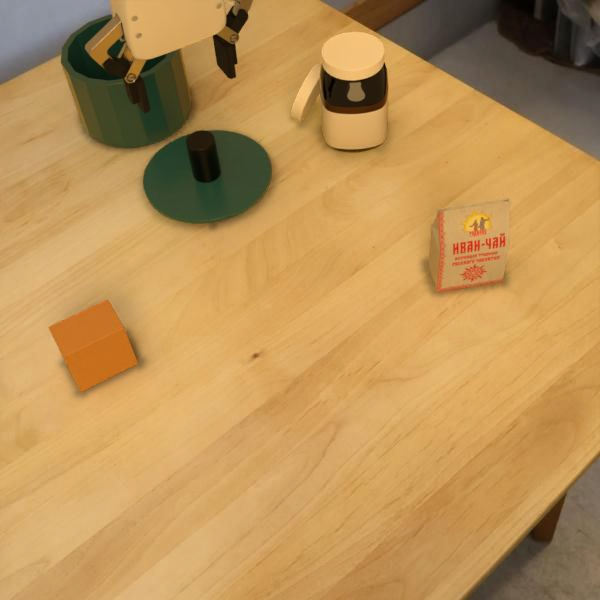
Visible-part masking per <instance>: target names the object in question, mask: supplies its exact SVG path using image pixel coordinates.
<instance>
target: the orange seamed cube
mask: <svg viewBox="0 0 600 600" xmlns="http://www.w3.org/2000/svg"><path fill="white" fill-rule="evenodd" d="M48 330H49V332H50V334H51V335H52V336H51V337H52V338H53V340H54V342H55V344H56V346H57V348H58V350H59V352H60V355H61V356H62V358H63V360H64V362H65V364H66V366H67V368H68V370H69V372H70V373H71V376H72V378H73V379H74V381H75V383H76V386H77V388H78V390H79V391H80V392H85V391H86V390H88V389H90V388H92V387H94V386H96V385H98V384H101V383H102V382H104V381H106V380H108V379H110V378H112V377H114V376H116V375H119V374H121V373H122V372H124V371H126V370H129V369H131V368H132V367H134V366H136V365H138V364H139V362H138V359H137V357H136V354H135V351H134V349H133V347H132V344H131V342H130V339H129V336H128V334H127V331H126V328H125V326H124V325H123V323H122V321H121V320H120V317H119V315H118V314H117V312H116V310H115V308H114V306H113V305H112V303H111V301H110V300H109V299H108V298H107V299H105V300H103V301H101V302H98V303H96V304H93V306H90V307H88V308H86V309H84V310H82V311H80V312H78V313H75V314H73V315H71V316H68V317H67V318H65V319H63V320H60V321H58V322H56V323H54V324H51V325H49V326H48Z"/></svg>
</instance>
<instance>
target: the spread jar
mask: <svg viewBox="0 0 600 600" xmlns="http://www.w3.org/2000/svg"><path fill="white" fill-rule="evenodd" d="M320 53H321V63H320V64H319V63H316V64H315V65H313V67H312V68H311V69H310V71H309V72H308V73H307V76H306V77H305V79H304V80H303V82H302V84H301V86H300V88H299V90H298V92H297V95H296V96H295V99H294V101H293V104H292V107H291V109H290V117H292V118H294V119H295V120H297V121H299V122H303V121H304V120H305V119H306V118H307V116H308V115H309V113H310V112H311V110H312V109H313V107H314V105H315V103H316V101H317V100H318V97H319V99H320V100H319V101H320V120H321V129H322V136H323V140H324V142H325V144H326V145H327V146H328V148H330V149H332V150H334V151H337V152H342V153H350V154H352V153H353V154H354V153H356V154H357V153H364V152H368V151H369V152H370V151H372V150H374V149H377V148H379V147H380V146H382V145H383V144H384V142H385V141H386V138H387V134H388V133H387V132H388V123H389V122H388V121H389V120H388V118H389V117H388V113H389V110H388V109H389V76H388V67H387V65H386V62H385V46H384V44H383V42H382V41H381V39H379V38H378V37H376V36H375V35H372V34H370V33H367V32H362V31H348V32H347V31H346V32H343V33H339V34H336V35H334V36H332V37H330V38H329V39H328V40H326V41H325V43H324V44H323V45H322V47H321V52H320Z"/></svg>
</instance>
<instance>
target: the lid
mask: <svg viewBox="0 0 600 600" xmlns="http://www.w3.org/2000/svg"><path fill="white" fill-rule="evenodd" d="M272 169H273V168H272V162H271V158H270V156H269V154H268V152H267V151H266V150H265V148H264V147H263V146H262V145H261V144H260V143H259V142H257V140H254V139H253V138H251V137H249V136H247V135H245V134H242V133H239V132H236V131H231V130H223V129H209V130H203V129H201V130H196V131H195V130H194V131H192V132H191V133H188V134H185V135H182V136H180V137H178V138H176V139H173V140H171V141H170V142H168V143H166V144H165V145H164V146H163V147H161V148H160V149H159V150H158V151H157V152H155V154H154V155H153V156H152V157H151V158H150V160H149V161H148V163H147V164H146V167H145V169H144V172H143V177H142V186H143V191H144V194H145V198H146V199H147V201H148V203H149V204H150V205H151V207H152V208H154V209H155V210H156V211H157V212H158V213H160V214H161V215H163V216H164V217H166V218H168V219H170V220H174V221H177V222H180V223H181V222H182V223H186V224H195V225H196V224H199V225H200V224H201V225H202V224H203V225H204V224H213V223H219V222H222V221H226V220H230V219H232V218H234V217H237V216H239V215H241V214H243V213H245V212H247V211H248V210H250V209H251V208H252V207H253V206H255V205H256V204H257V203H258V202H259V201H260V200H261V198H263V196H264V195H265V193H266V192H267V191H268V189H269V186H270V184H271V181H272V176H273V175H272V174H273V170H272Z"/></svg>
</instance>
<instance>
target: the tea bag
mask: <svg viewBox="0 0 600 600" xmlns="http://www.w3.org/2000/svg"><path fill="white" fill-rule="evenodd" d="M511 202H512V201H511V200H510V198H503V199H497V200H490V201H483V202H476V203H469V204H464V205H456V206H450V207H443V208H438V209H437V212H436V214H435V217H434V219H433V221H432V224H430V225H431V226H430V237H429V250H428V261H427V265H428V269H429V271H430V275H431V278H432V281H433V286H434V288H435V291H436V293H440V292H445V291H453V290H459V289H466V288H473V287H479V286H484V285H485V286H486V285H493V284H497V283H498V284H499V283H503V282H504V276H505V272H506V266H507V262H508V261H507V260H508V255H509V250H510V245H511V204H512V203H511Z"/></svg>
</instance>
